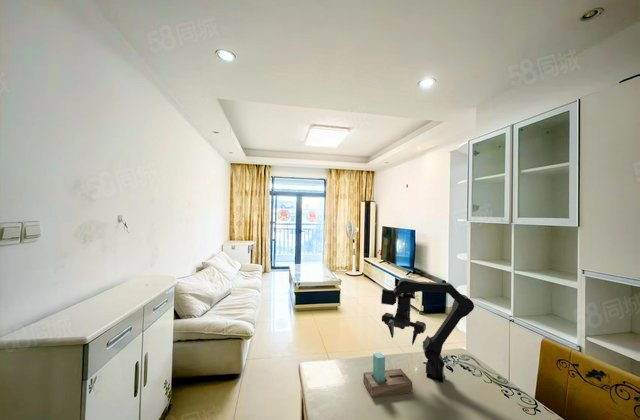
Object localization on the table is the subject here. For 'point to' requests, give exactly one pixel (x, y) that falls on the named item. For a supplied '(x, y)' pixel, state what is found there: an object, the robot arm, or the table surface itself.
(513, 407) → the table surface
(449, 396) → the table surface
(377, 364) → the teal square peg
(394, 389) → the bore block
